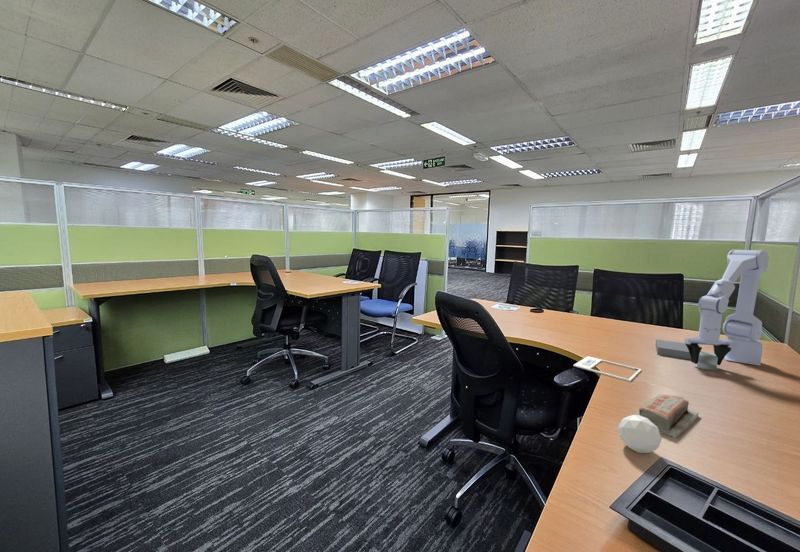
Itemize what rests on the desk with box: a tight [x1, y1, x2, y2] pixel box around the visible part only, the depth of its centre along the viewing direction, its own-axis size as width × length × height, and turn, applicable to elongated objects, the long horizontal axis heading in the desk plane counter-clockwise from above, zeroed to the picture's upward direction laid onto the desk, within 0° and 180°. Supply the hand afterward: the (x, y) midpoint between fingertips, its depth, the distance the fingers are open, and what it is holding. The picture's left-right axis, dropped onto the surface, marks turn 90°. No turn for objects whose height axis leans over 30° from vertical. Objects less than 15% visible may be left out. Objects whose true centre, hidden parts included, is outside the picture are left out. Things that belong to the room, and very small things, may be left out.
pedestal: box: [655, 338, 702, 361], centre depth 139 cm, size 14×14×3 cm
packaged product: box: [633, 394, 700, 439], centre depth 87 cm, size 18×5×10 cm
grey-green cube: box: [694, 351, 718, 372], centre depth 123 cm, size 5×5×5 cm
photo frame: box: [573, 355, 642, 383], centre depth 122 cm, size 15×1×18 cm
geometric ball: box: [617, 414, 662, 454], centre depth 74 cm, size 8×8×8 cm
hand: (705, 363), depth 124 cm, fingers closed on grey-green cube, 7 cm apart
